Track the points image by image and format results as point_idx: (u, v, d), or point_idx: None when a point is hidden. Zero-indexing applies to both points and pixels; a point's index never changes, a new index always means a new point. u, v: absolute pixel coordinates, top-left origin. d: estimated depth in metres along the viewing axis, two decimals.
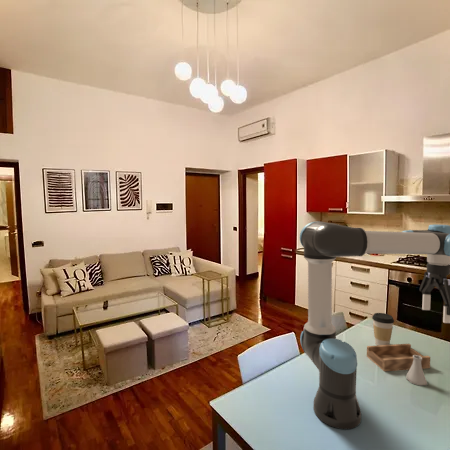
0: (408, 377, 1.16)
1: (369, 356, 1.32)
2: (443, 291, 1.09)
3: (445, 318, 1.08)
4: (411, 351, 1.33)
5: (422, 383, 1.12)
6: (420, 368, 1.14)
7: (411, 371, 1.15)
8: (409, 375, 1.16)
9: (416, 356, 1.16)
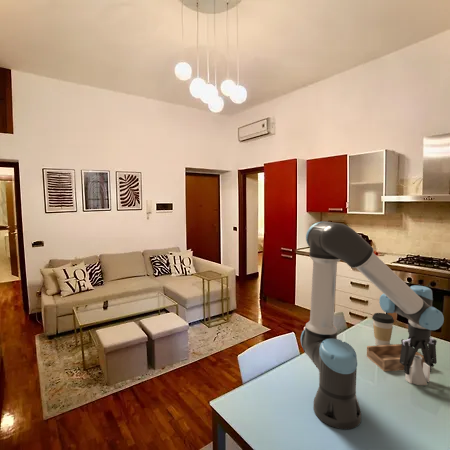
0: None
1: (369, 356, 1.32)
2: None
3: (406, 375, 1.16)
4: None
5: (422, 383, 1.12)
6: (420, 368, 1.14)
7: None
8: None
9: (416, 356, 1.16)
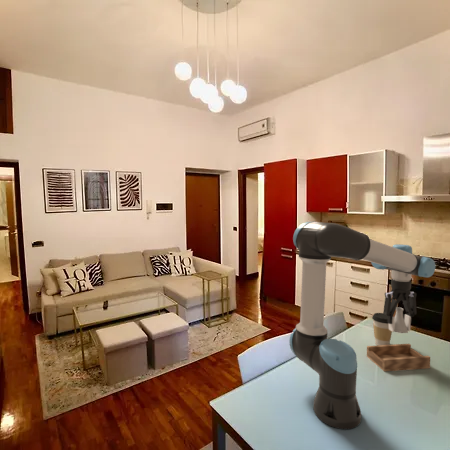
0: None
1: (369, 356, 1.32)
2: (391, 303, 1.28)
3: (389, 325, 1.29)
4: (411, 351, 1.33)
5: (403, 331, 1.25)
6: (402, 318, 1.26)
7: None
8: None
9: (398, 308, 1.29)
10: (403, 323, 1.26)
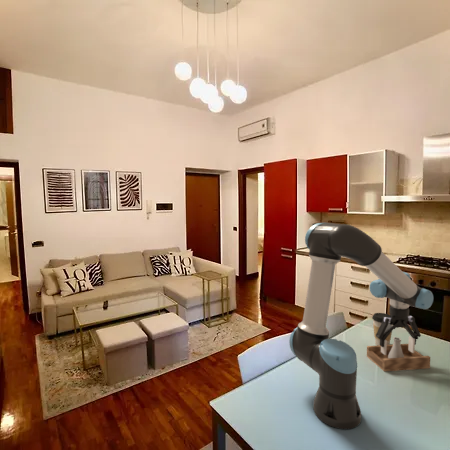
0: (389, 357, 1.30)
1: (369, 356, 1.32)
2: (387, 327, 1.29)
3: (381, 348, 1.29)
4: None
5: None
6: (399, 348, 1.28)
7: (392, 351, 1.29)
8: (390, 355, 1.30)
9: (396, 338, 1.30)
10: (401, 353, 1.27)
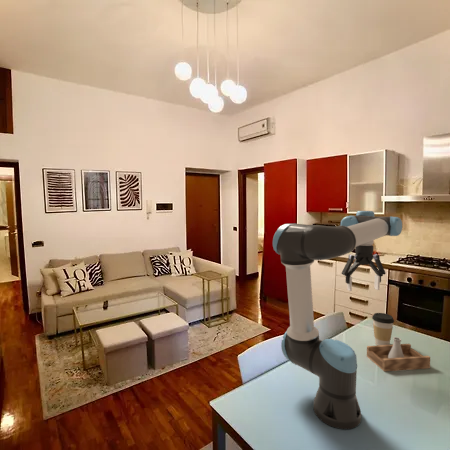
0: (389, 357, 1.30)
1: (369, 356, 1.32)
2: (352, 265, 1.32)
3: (347, 286, 1.33)
4: (411, 351, 1.33)
5: None
6: (399, 348, 1.28)
7: (391, 351, 1.29)
8: (390, 355, 1.30)
9: (396, 338, 1.30)
10: (401, 353, 1.27)
